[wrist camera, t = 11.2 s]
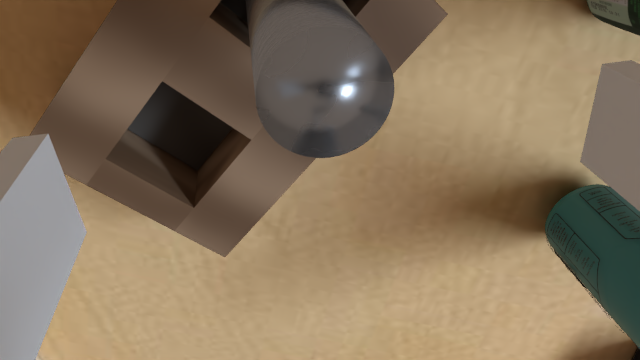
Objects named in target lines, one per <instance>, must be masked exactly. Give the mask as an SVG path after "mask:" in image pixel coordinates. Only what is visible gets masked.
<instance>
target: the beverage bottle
mask: <svg viewBox="0 0 640 360" xmlns="http://www.w3.org/2000/svg"><path fill="white" fill-rule="evenodd" d="M545 233H546V236H547V239H548V241H547V243H548V242H549V243H550V247H551V246H552V248H553V249H554V251H555V254H557V253H558V254H557V256H558V257H559V258H560V259H561V261H562V262H563V263H564V264H565V265H566V266H567V267H566V268H567V269H569V270H570V271H571V272H572V273H573V272H574V273H575V274H574V273H573V275H574V276H575V277H576V279H578V278H579V279H580V280H581V281H580V280H579V279H578V280H577V281H579V282H580V283H581V284H582V286H583V287H585V286H586V287H585V288H586V289H585V290H587V289H588V290H589V291H590V292H591V293H592V294H591V295H593V297H594V298H596V299H597V301H598V302H599V303H600V304H601V305H602V307H603V309H605V310H606V311H607V312H608V313H609V314H608V315H609V316H611V318H613V319H614V320H615V322H616V323H617V324H618V325H619V326H620V327H621V329H622V330H623V331H624V332H625V333H626V334H627V336H629V337H630V338H631V339H632V340H633V342H634V343H635V344H636V345H637V346H638V347H639V349H640V211H639V210H637V209H636V208H635V207H634V206H633V205H631V204H630V203H629V202H628V201H627V200H625V199H624V198H623V197H622V196H621V195H619V194H618V193H617V192H616V191H615V190H614V189H612V188H611V187H608V186H605V185H598V184H597V185H588V186H584V187H581V188H578V189H576V190H574V191H572V192H570V193H569V194H567V195H566V196H564V197H563V198H562V199H561V200H559V201H558V202H557V203H556V205H555V206H554V207H553V208H552V210H551V211H550V213H549V215H548V217H547V220H546V224H545ZM552 248H550V249H552ZM552 251H553V250H552ZM562 259H563V260H564V261H563V260H562ZM568 266H569V267H568ZM583 284H584V285H585V286H584V285H583ZM587 292H588V291H587ZM589 295H590V293H589ZM593 300H594V299H593ZM595 301H596V300H595ZM598 302H596V303H598ZM600 308H601V307H600ZM605 310H604V311H605ZM606 314H607V313H606ZM608 315H607V316H608ZM615 326H616V325H615ZM616 327H617V326H616ZM617 328H618V327H617ZM624 332H623V333H624Z"/></svg>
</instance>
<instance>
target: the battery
mask: <svg viewBox="0 0 640 360" xmlns="http://www.w3.org/2000/svg"><path fill="white" fill-rule="evenodd" d="M633 360H640V349H639V347H638V349H637V352H636V354H635V356H634V358H633Z"/></svg>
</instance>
